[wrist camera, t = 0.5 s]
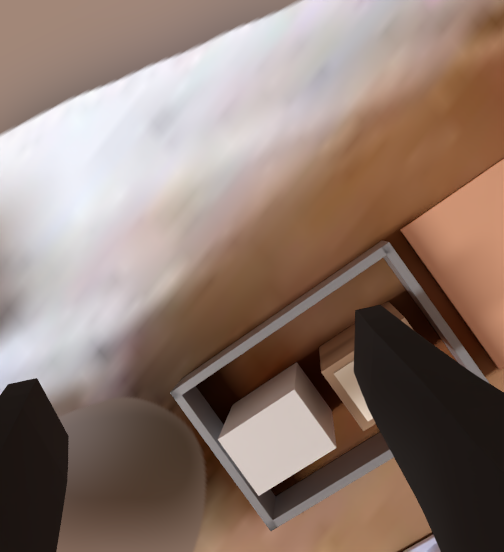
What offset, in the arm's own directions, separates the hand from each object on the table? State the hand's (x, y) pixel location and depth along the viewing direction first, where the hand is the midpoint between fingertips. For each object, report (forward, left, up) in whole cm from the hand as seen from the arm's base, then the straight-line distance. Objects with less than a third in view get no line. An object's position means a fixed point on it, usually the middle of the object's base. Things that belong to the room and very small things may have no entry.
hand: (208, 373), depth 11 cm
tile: (-9, -13, -24) cm, 29 cm away
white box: (-9, +6, -24) cm, 26 cm away
